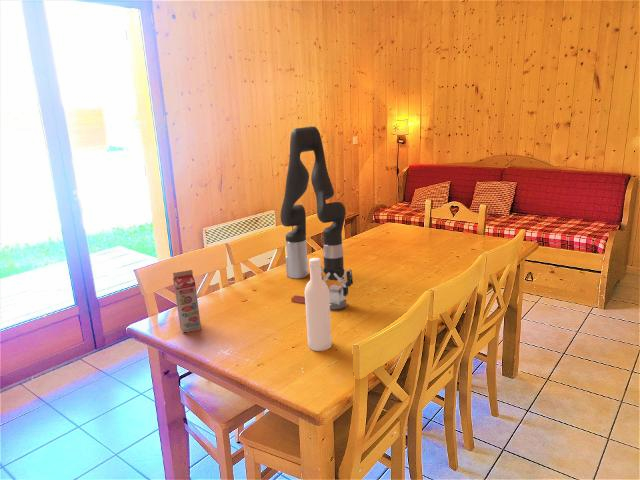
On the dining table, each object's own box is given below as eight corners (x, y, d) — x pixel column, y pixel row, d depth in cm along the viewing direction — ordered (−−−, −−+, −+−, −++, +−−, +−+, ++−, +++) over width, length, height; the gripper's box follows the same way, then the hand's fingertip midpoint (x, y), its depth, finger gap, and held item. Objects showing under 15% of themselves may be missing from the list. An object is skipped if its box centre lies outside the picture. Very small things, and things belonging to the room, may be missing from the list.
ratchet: (288, 304, 196) (287, 290, 194) (298, 296, 203) (297, 283, 201) (341, 312, 186) (340, 297, 184) (349, 303, 193) (349, 289, 191)
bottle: (331, 339, 165) (327, 254, 157) (332, 350, 157) (328, 262, 149) (307, 340, 165) (302, 256, 157) (308, 352, 157) (302, 264, 149)
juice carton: (180, 326, 181) (171, 270, 175) (198, 322, 184) (190, 267, 178) (182, 333, 175) (174, 275, 169) (201, 329, 178) (193, 272, 172)
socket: (326, 303, 189) (325, 289, 188) (332, 298, 194) (331, 284, 193) (339, 305, 187) (338, 290, 185) (345, 299, 192) (344, 285, 190)
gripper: (312, 255, 185) (314, 295, 190) (346, 259, 179) (348, 300, 184) (320, 250, 192) (322, 288, 196) (354, 253, 186) (355, 292, 190)
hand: (335, 294), depth 190 cm, fingers open, 8 cm apart
